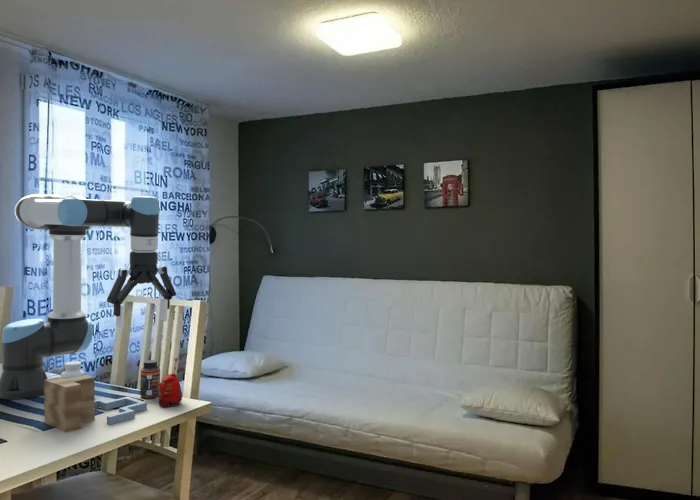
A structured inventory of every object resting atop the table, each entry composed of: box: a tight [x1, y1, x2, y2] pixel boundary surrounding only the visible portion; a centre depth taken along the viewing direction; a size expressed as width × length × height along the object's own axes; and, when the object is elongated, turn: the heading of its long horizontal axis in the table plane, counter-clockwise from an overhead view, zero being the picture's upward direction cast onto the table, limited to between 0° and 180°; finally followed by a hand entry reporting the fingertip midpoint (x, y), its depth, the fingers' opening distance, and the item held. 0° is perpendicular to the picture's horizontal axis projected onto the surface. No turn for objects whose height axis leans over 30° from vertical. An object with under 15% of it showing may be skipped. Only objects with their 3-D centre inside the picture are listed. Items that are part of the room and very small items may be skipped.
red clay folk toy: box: [157, 354, 183, 408], centre depth 175 cm, size 8×7×15 cm
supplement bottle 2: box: [139, 359, 161, 399], centre depth 183 cm, size 6×6×11 cm
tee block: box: [43, 374, 96, 433], centre depth 157 cm, size 12×10×12 cm
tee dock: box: [95, 395, 148, 425], centre depth 167 cm, size 18×14×2 cm
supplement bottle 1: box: [60, 360, 86, 379], centre depth 173 cm, size 7×7×13 cm
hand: (142, 323), depth 164 cm, fingers open, 13 cm apart
